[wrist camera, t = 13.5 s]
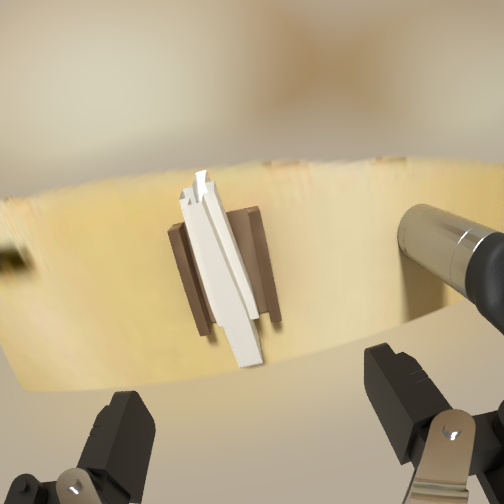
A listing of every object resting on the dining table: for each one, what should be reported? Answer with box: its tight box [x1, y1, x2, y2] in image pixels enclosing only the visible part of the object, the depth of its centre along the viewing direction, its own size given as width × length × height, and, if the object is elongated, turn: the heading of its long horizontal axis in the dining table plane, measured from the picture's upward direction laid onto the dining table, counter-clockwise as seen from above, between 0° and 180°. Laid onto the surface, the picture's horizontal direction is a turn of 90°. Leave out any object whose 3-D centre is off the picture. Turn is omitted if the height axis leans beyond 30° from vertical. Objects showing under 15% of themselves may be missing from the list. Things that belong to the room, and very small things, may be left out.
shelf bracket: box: [179, 170, 263, 368], centre depth 40 cm, size 6×25×13 cm, turn 14°
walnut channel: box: [168, 206, 281, 336], centre depth 43 cm, size 12×16×4 cm
